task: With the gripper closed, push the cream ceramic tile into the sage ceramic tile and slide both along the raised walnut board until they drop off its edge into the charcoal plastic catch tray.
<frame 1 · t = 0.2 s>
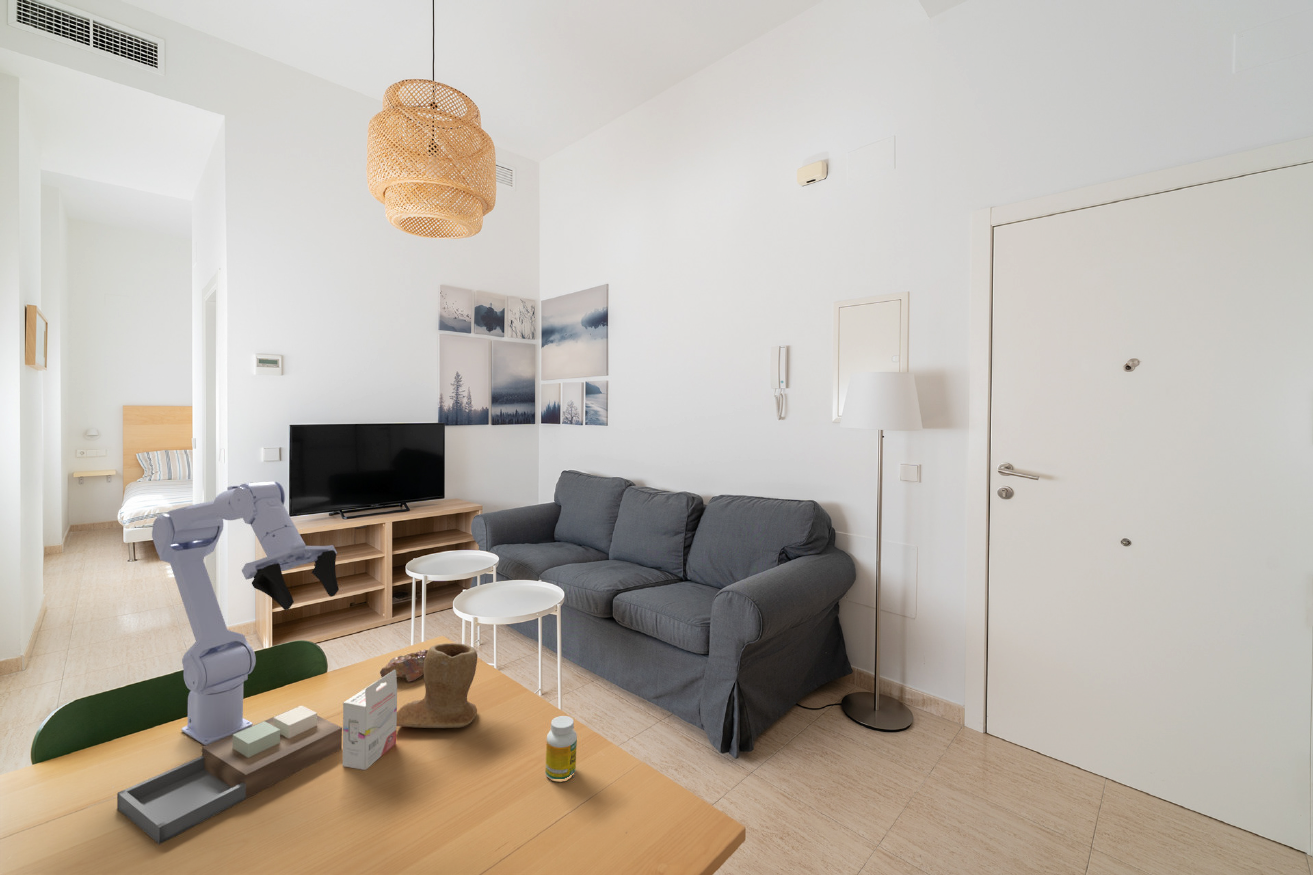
hand: (312, 599, 94), 31 cm above the table, tool tilted 45°, fingers open, 7 cm apart
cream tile: (295, 727, 102), point 4 cm above the table, touching walnut board
supplement bottle: (560, 774, 99), on the table
walnut board: (274, 758, 99), on the table
mineral specimen: (408, 677, 132), on the table
brown hollow boot figurine: (439, 719, 114), on the table
catch tray: (182, 803, 87), on the table
ink cartridge box: (369, 755, 102), on the table
sage tile: (256, 745, 96), point 4 cm above the table, touching walnut board
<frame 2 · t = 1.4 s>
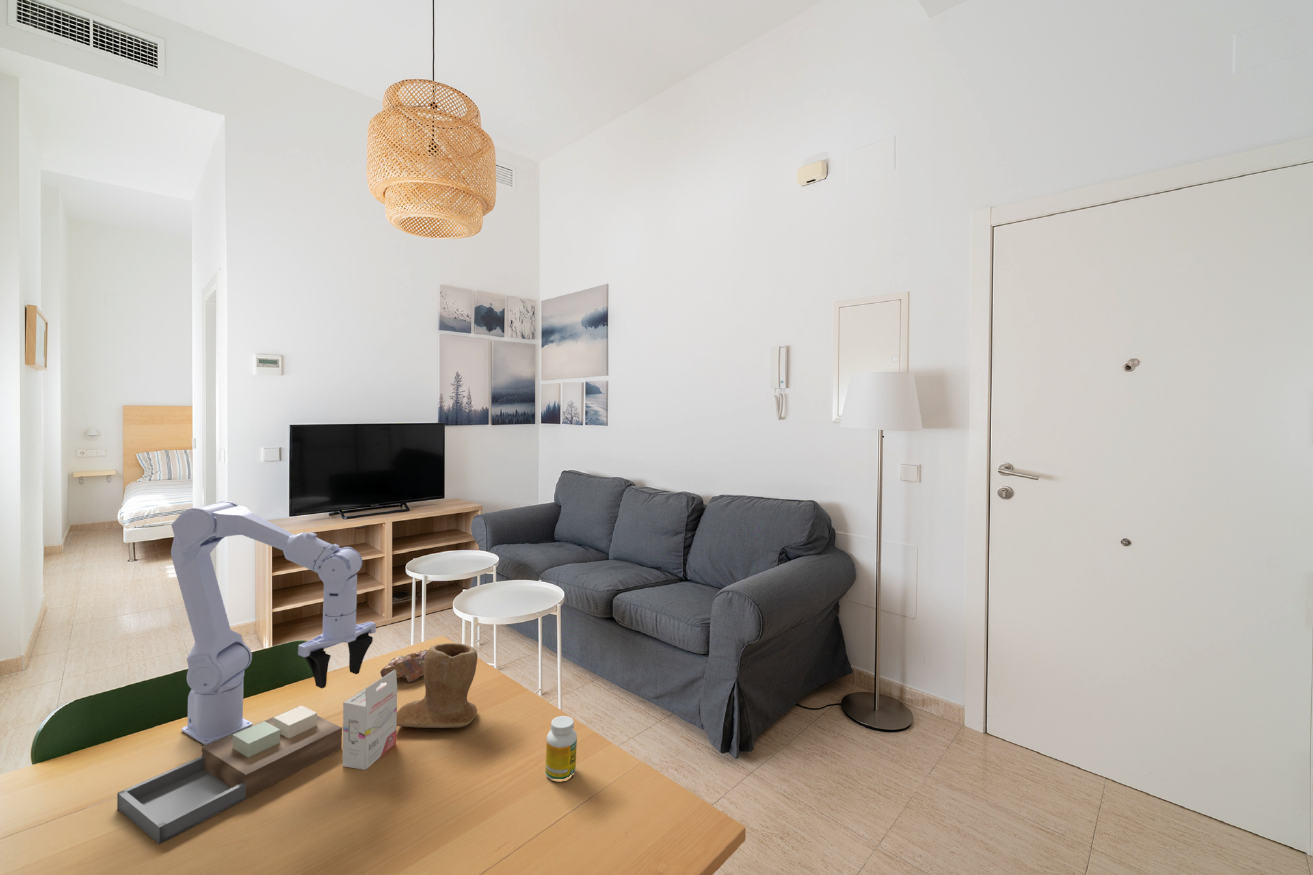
hand: (338, 679, 109), 10 cm above the table, tool pointing down, fingers open, 6 cm apart
nothing on the table moved.
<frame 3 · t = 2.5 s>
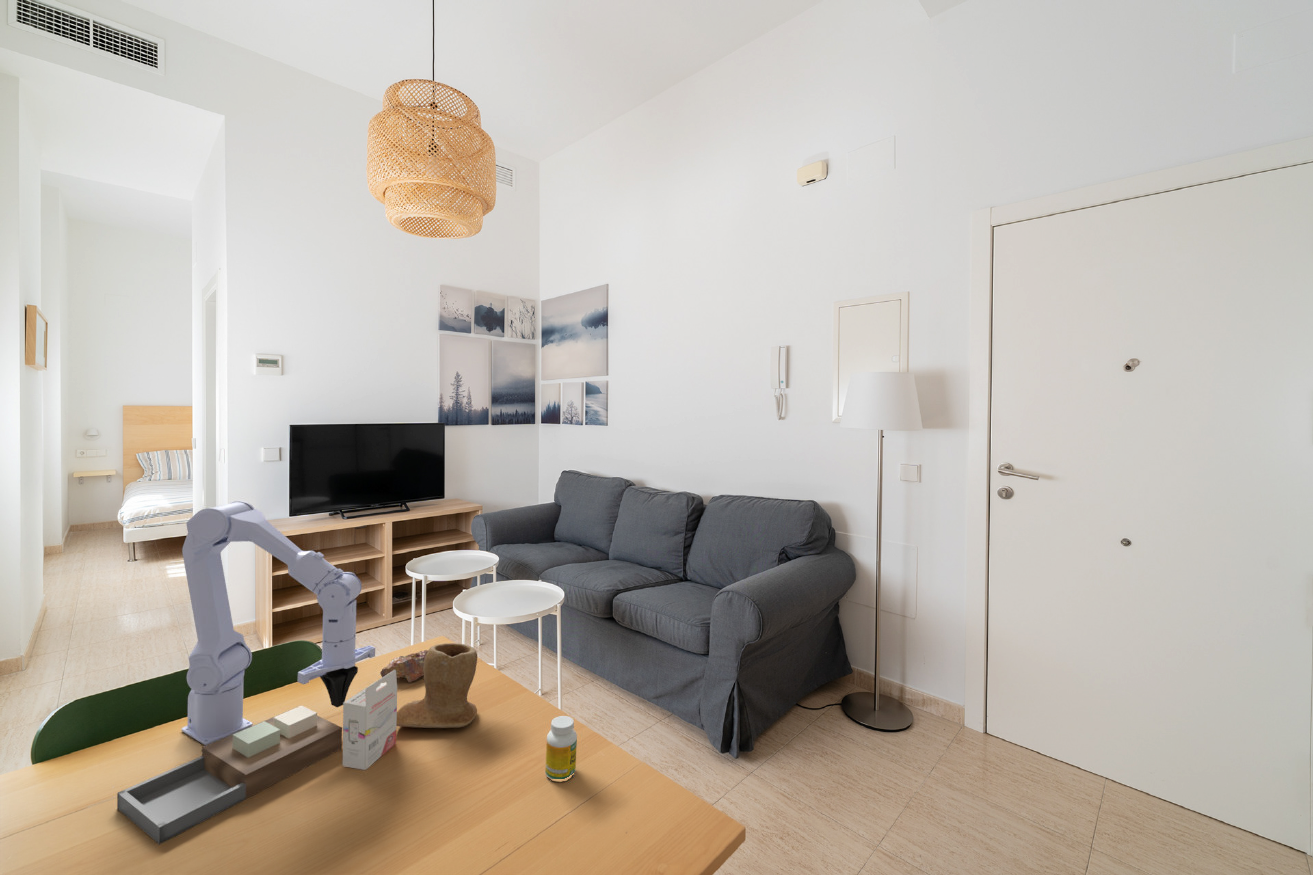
hand: (337, 704, 109), 5 cm above the table, tool pointing down, fingers closed
nothing on the table moved.
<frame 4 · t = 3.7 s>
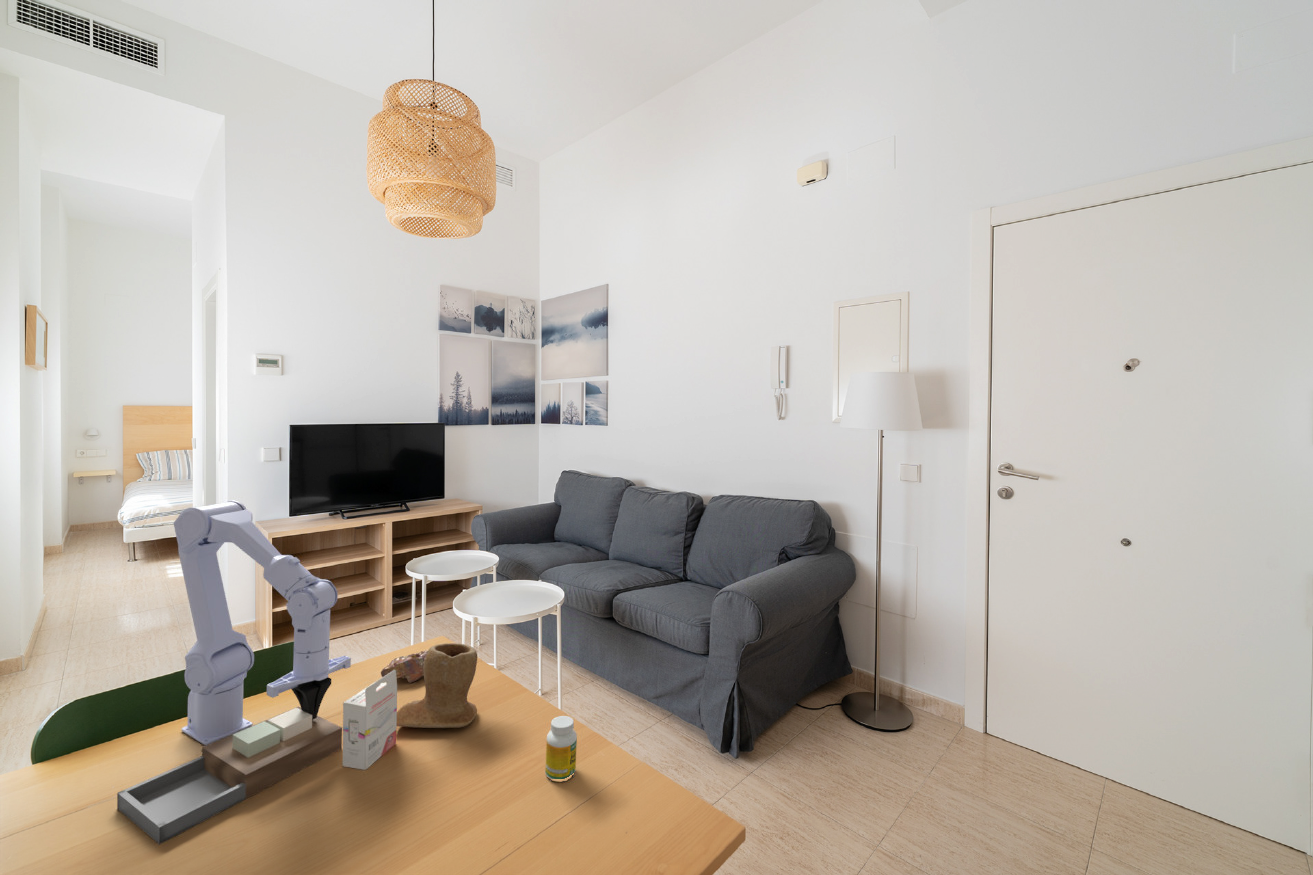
hand: (310, 717, 105), 5 cm above the table, tool pointing down, fingers closed
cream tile: (289, 730, 101), point 4 cm above the table, touching gripper
everything else where it was.
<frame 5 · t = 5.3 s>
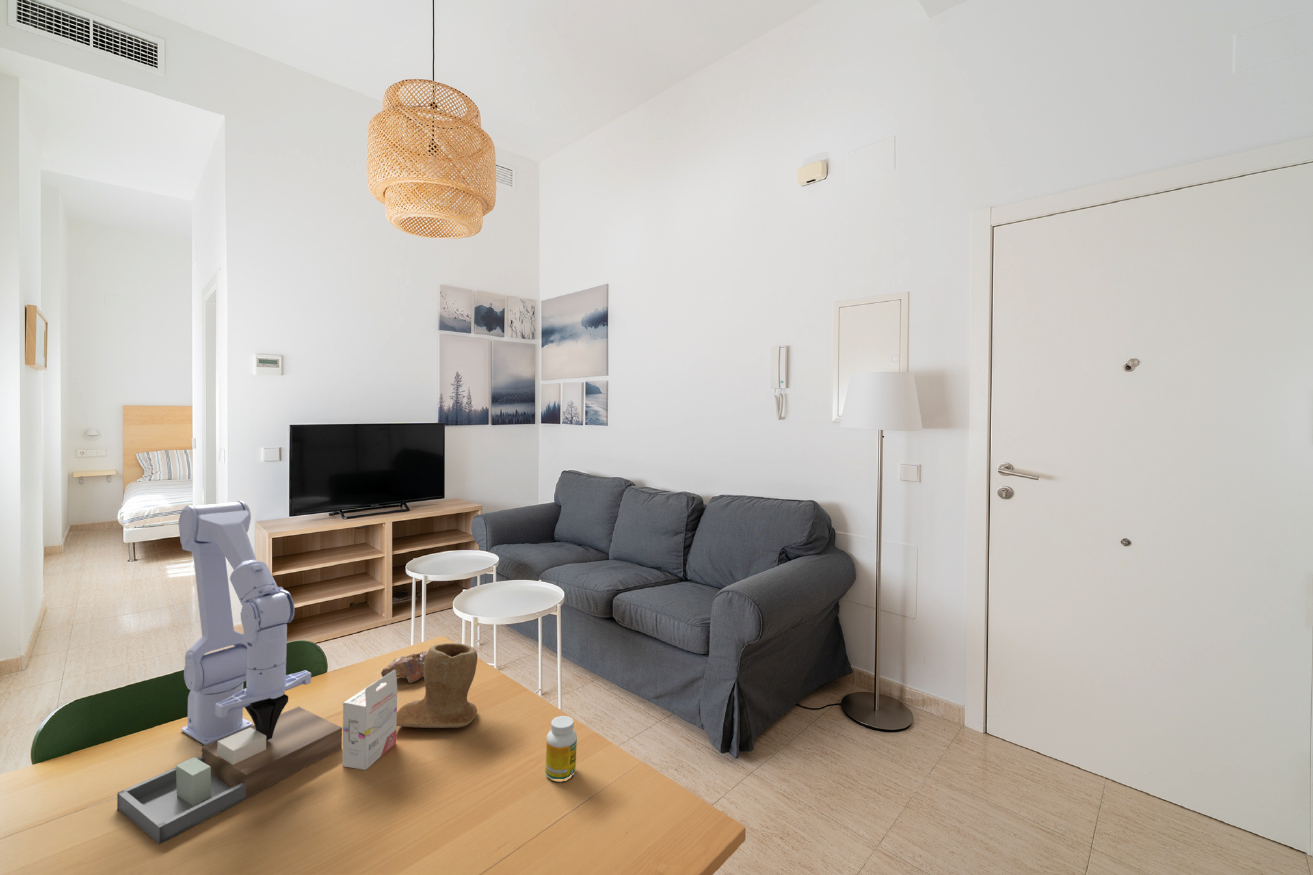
hand: (265, 738, 98), 5 cm above the table, tool pointing down, fingers closed
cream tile: (241, 752, 94), point 4 cm above the table, touching gripper
sage tile: (202, 776, 89), point 3 cm above the table, tilted 92°, touching catch tray
everything else where it was.
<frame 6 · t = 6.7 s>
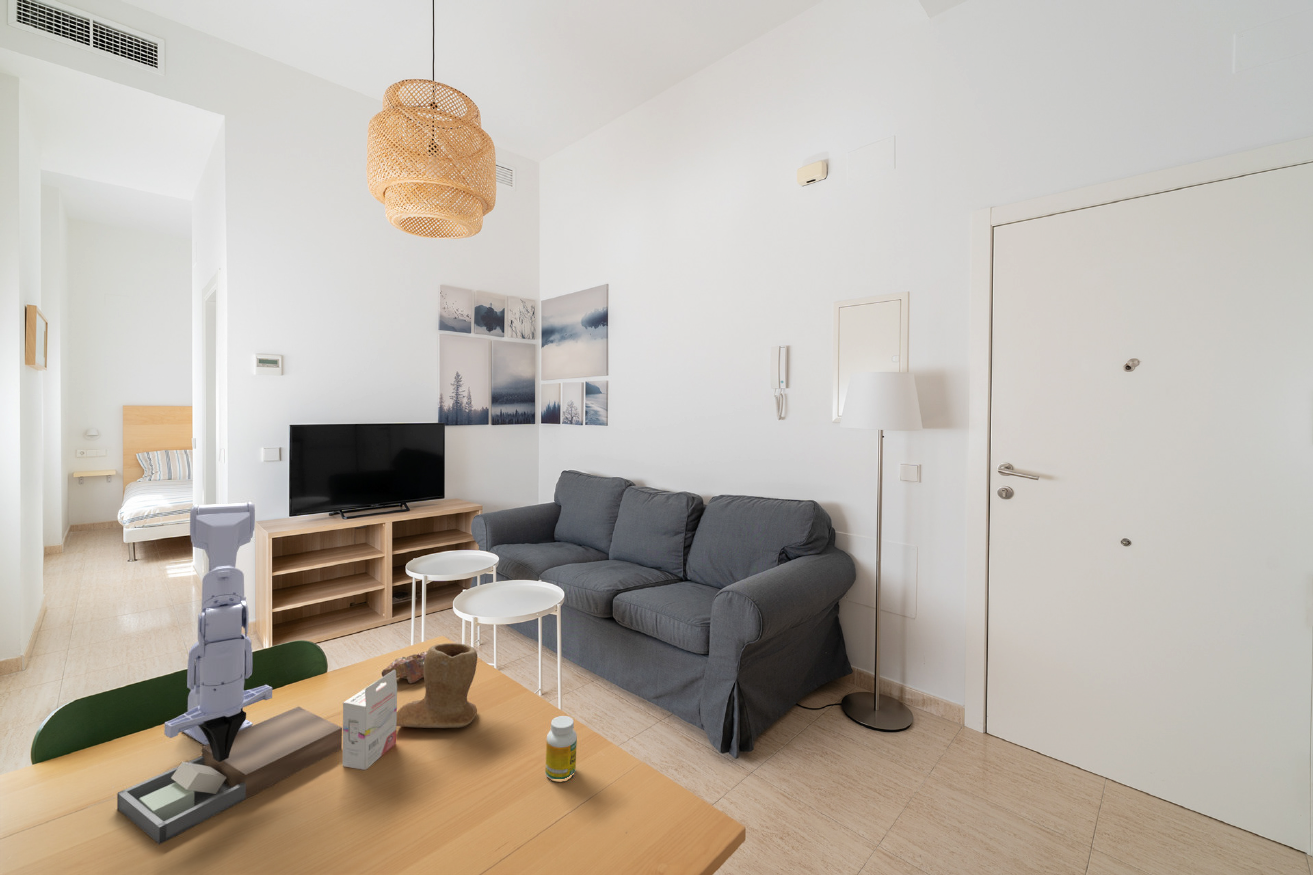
hand: (220, 758, 92), 5 cm above the table, tool pointing down, fingers closed
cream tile: (193, 785, 89), point 2 cm above the table, tilted 38°, touching catch tray, sage tile
sage tile: (167, 794, 85), point 3 cm above the table, tilted 180°, touching catch tray, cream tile
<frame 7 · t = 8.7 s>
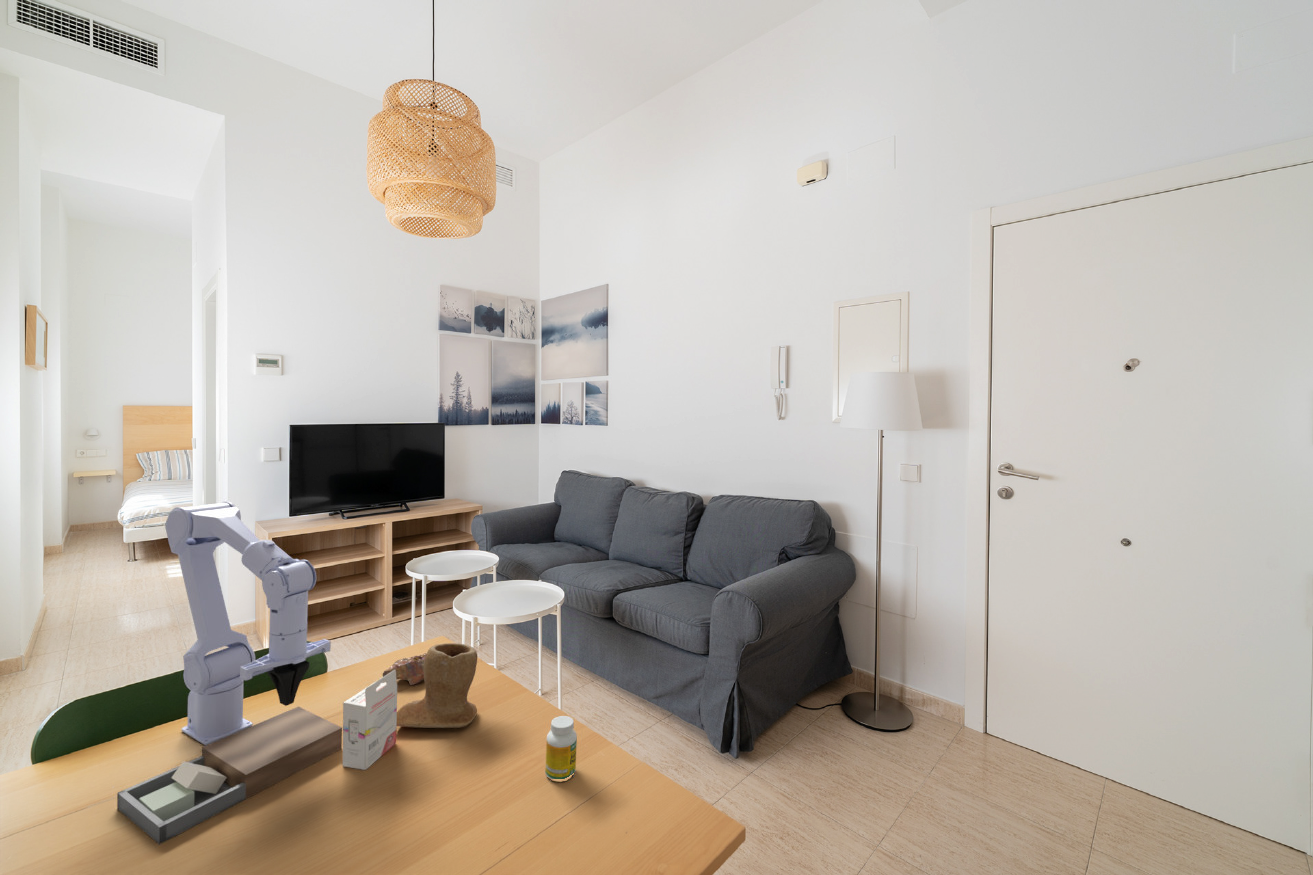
hand: (286, 702, 101), 9 cm above the table, tool pointing down, fingers closed
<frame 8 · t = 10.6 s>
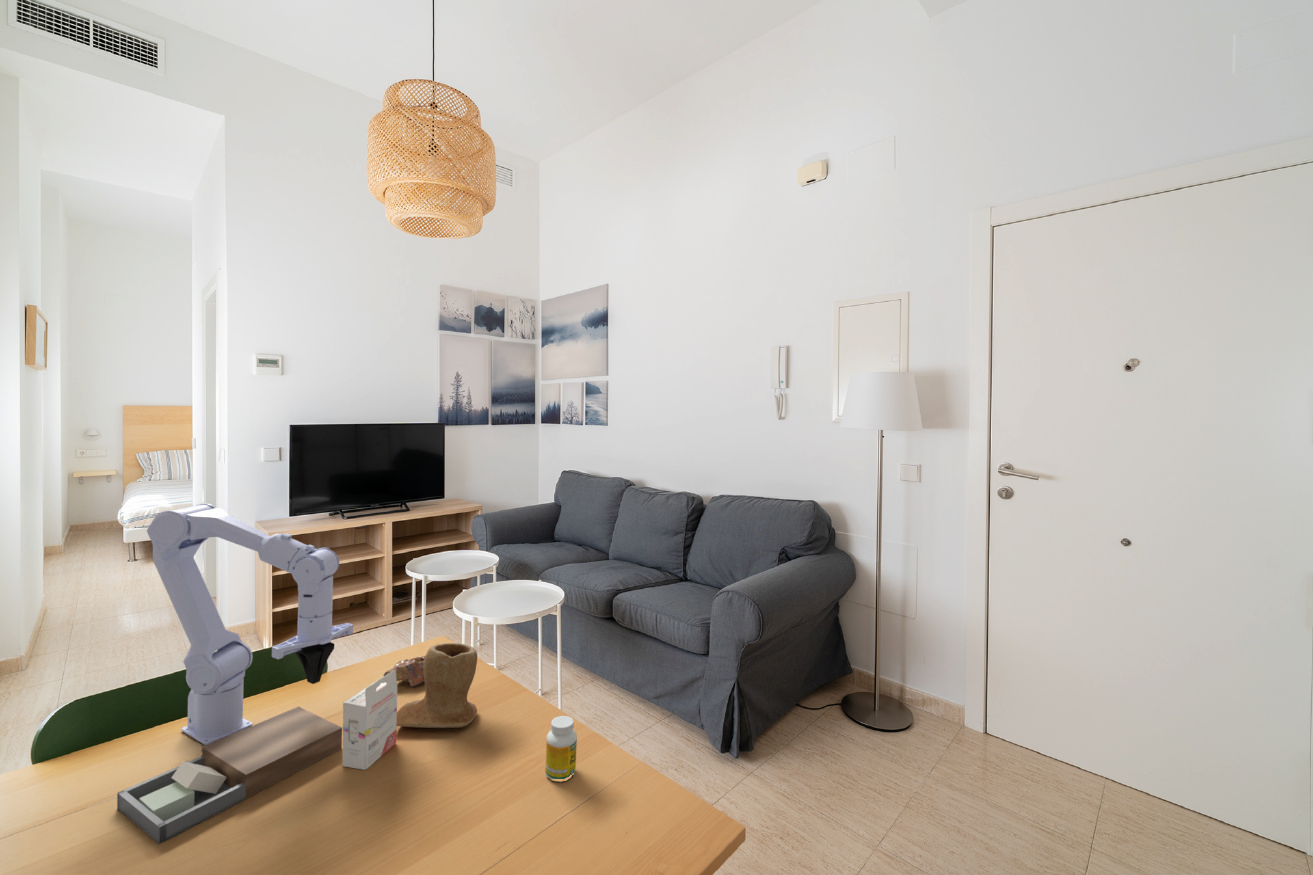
hand: (313, 681, 108), 10 cm above the table, tool pointing down, fingers closed
at the end: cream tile inside the target area (2.0 cm from its centre), point 2.0 cm above the table; sage tile inside the target area (1.6 cm from its centre), point 2.8 cm above the table; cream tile touching catch tray, sage tile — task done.
